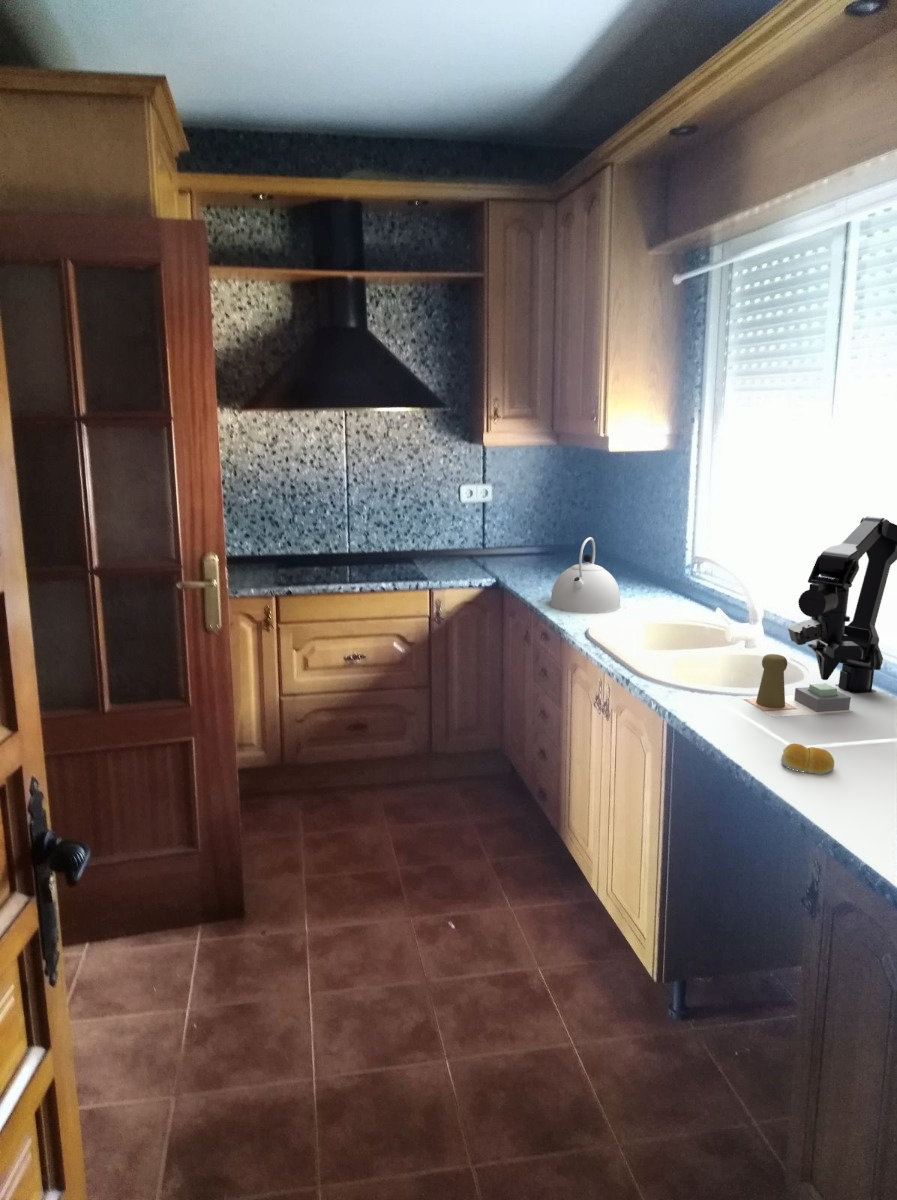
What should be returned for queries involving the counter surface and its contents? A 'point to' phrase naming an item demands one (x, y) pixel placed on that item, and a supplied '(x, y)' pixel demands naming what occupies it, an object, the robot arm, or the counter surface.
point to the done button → (822, 690)
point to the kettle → (586, 588)
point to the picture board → (798, 711)
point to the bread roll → (807, 759)
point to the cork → (772, 682)
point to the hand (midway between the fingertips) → (824, 679)
